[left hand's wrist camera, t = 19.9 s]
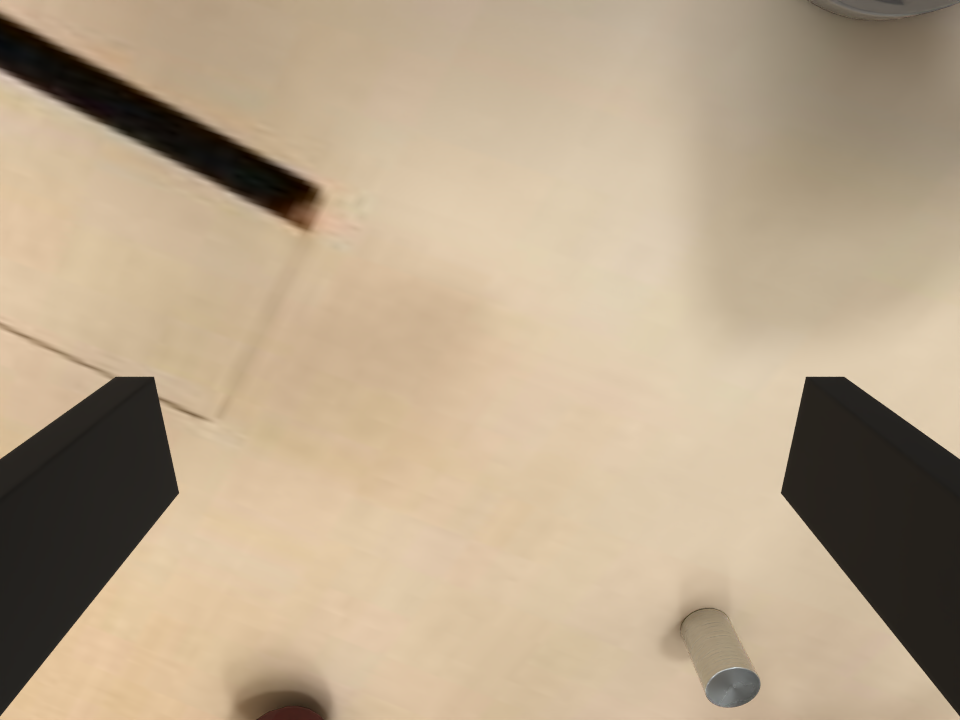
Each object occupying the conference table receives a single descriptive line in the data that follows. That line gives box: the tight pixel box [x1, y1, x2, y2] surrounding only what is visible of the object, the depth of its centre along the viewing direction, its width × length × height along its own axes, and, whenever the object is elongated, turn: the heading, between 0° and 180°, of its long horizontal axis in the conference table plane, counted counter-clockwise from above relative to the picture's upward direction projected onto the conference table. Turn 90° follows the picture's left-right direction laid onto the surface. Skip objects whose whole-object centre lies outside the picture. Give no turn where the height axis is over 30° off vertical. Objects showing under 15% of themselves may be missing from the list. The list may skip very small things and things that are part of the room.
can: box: [681, 609, 760, 707], centre depth 41 cm, size 4×4×5 cm
